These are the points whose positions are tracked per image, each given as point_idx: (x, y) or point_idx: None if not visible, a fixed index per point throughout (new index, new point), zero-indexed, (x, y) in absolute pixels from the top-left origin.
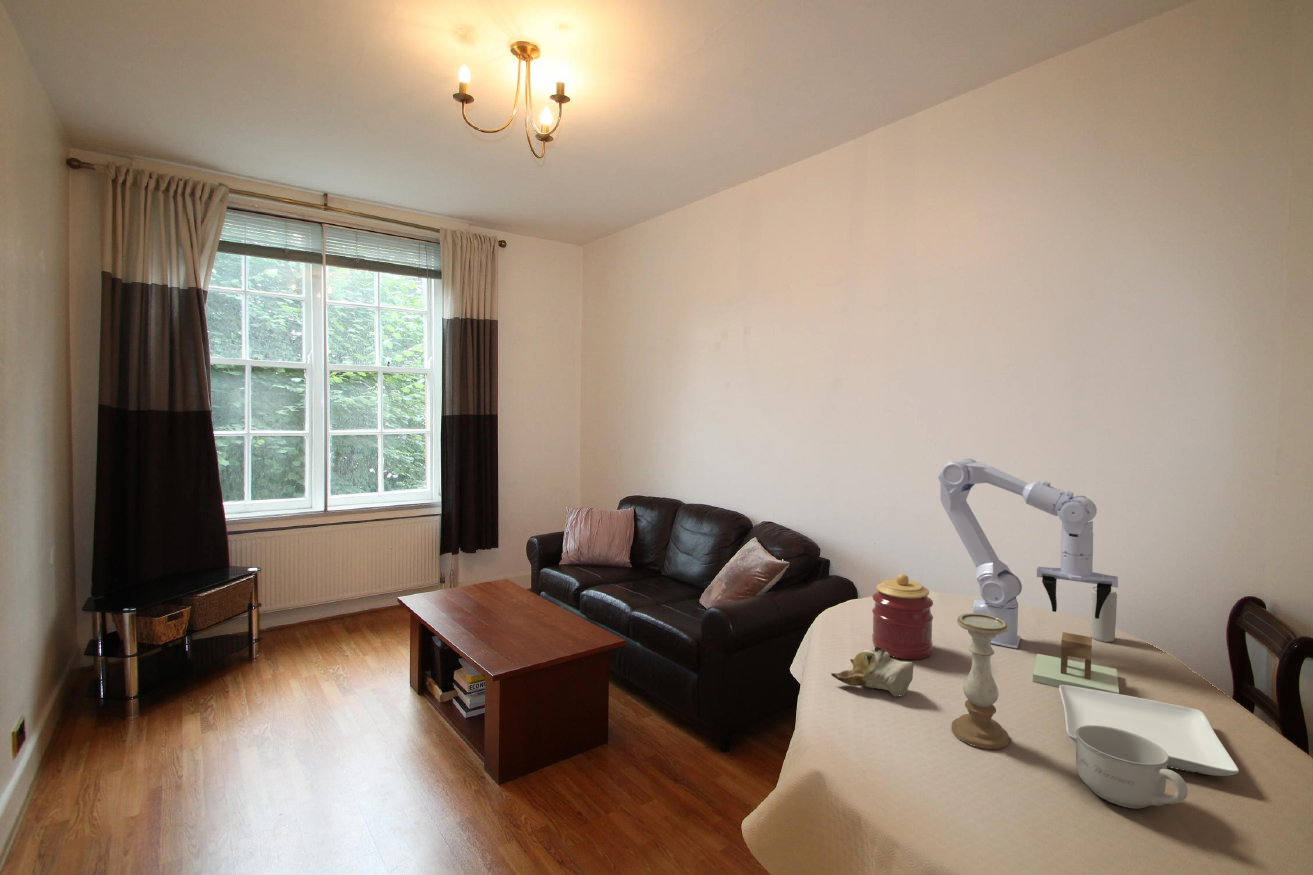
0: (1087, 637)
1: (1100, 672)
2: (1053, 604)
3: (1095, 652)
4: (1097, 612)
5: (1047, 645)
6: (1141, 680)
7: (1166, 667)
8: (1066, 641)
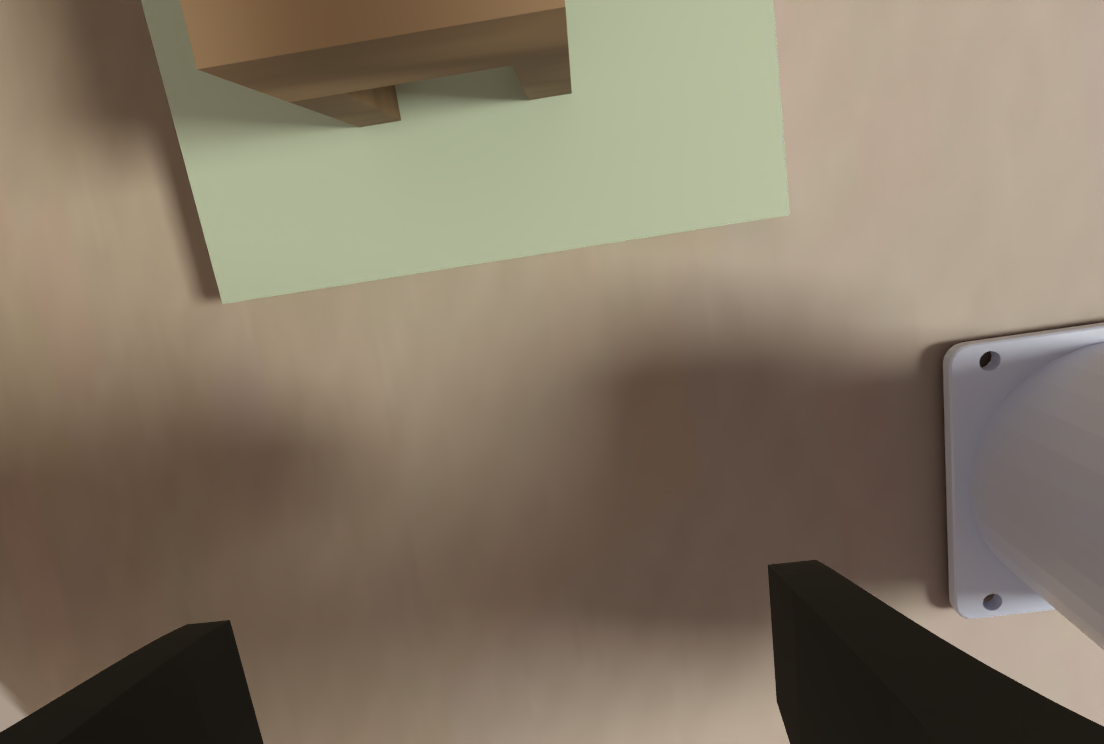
0: (237, 5)
1: (293, 136)
2: (860, 611)
3: (456, 659)
4: (122, 668)
5: (750, 584)
6: (116, 337)
7: (73, 674)
8: None
